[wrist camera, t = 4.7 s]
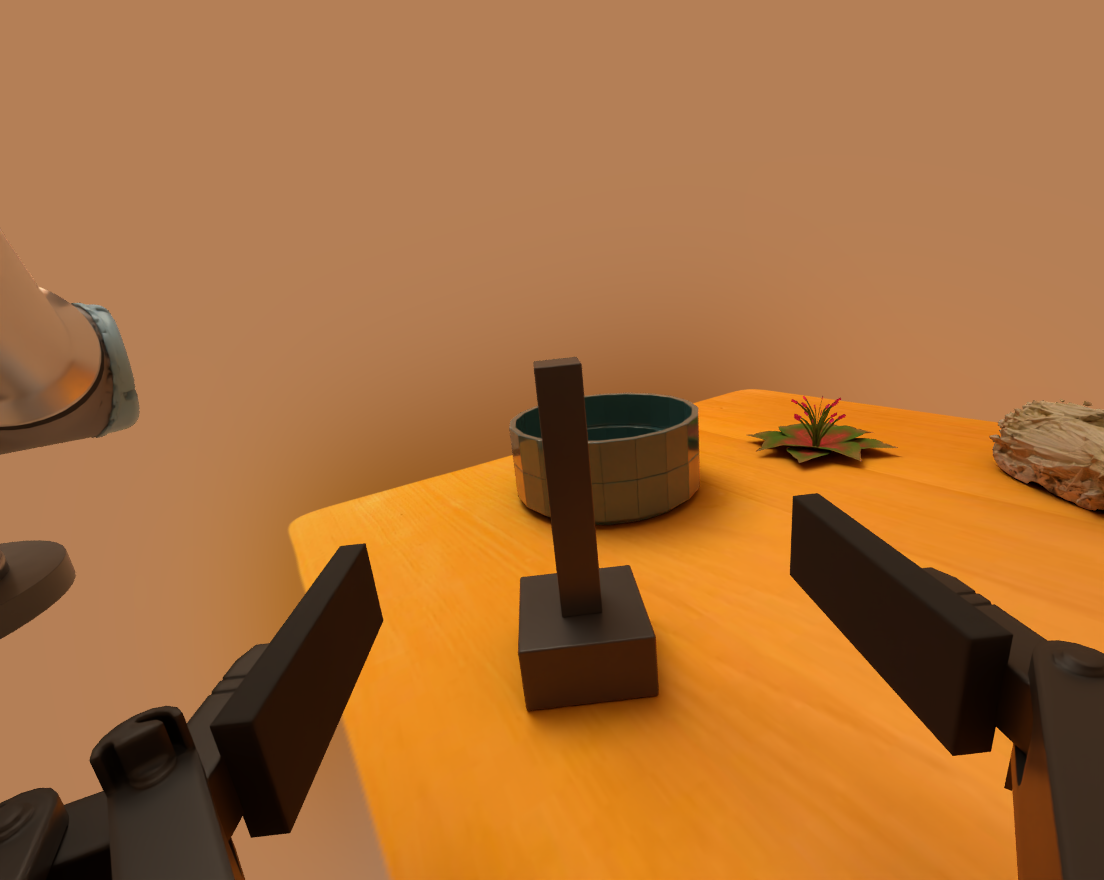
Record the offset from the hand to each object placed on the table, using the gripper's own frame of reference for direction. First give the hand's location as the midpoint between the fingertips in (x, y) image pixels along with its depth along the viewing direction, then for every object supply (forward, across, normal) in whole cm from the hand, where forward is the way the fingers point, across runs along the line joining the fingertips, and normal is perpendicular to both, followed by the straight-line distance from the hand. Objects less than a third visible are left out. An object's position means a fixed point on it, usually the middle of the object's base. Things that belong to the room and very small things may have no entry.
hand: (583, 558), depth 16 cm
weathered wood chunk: (+16, +36, -9) cm, 40 cm away
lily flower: (+30, +24, -9) cm, 40 cm away
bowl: (+26, +4, -9) cm, 28 cm away
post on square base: (+6, 0, -9) cm, 11 cm away
